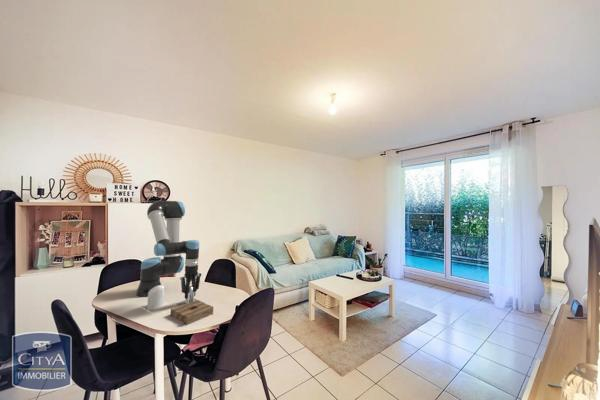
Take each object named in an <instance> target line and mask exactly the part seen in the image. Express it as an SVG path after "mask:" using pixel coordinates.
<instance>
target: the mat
mask: <svg viewBox="0 0 600 400" xmlns="http://www.w3.org/2000/svg"><path fill="white" fill-rule="evenodd" d="M195 300H198V301H200V302H203V303H205V302H204V301H201V300H199V299H197V298H194V301H195ZM185 301H186V299H185V300H182V301H179V302H177V303H175V305H177V306H181V305H184V304H187V303H185Z"/></svg>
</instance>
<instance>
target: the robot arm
mask: <svg viewBox="0 0 600 400" xmlns="http://www.w3.org/2000/svg"><path fill="white" fill-rule="evenodd" d="M185 214H186V207H185V204H184V203H183V202H182V201H179V200H156V201H154V202H152V203H151V204H150V205H149V207H148V208H147V212H146V215H147V216H146V217H147V219H148V220H150V223H151V227H152V231H153V234H154V238H155V241H156V243H155V244H154V247H153V254H154V255H155V256H154V257H150V258H146V259H144V260H143V261H142V262H141V264H140V275H139V276H140V278H139V279H140V281H139V285H138V287H137V289H136V296H138V297H148V292H149V291H150V290H151V289H152V288H154V287H156V286H159V285H161V286H162V283H161V280H160V279H161V277H162V276H167V275H169V276H170V275H175V274H179V273H181V272H182V270H183V269H184V276H180V277H179V279H180V281H181V282H180V283H181V284H180V285H181V293H182V294H184V299H185V300H186V301H185V300H184V301H185V303H189V295H190V293H188V292H189V286H193V300H192V301H194V299H195V297H196V292H197V291H198V290H199V288H200V282H201V281H200V280H201V276H202V273H200V272H198V271H199V265H198V264H199V254H200V241H199V240H198V239H189V240H182V241H180V222H181V220H182V219H183V217H184V216H185ZM165 221H166V223H165ZM182 254H185V258H184V257H183V256H182ZM161 257H162V258H161Z"/></svg>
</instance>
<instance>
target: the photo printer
mask: <svg viewBox="0 0 600 400" xmlns="http://www.w3.org/2000/svg"><path fill="white" fill-rule="evenodd" d="M164 303H165V286H164V285H162V284H161V285H159V286H156V287H154V288H152V289H151V290H150V291H149V292H148V296H147V307H146V309H147V311H153V310H155V309H158V308H159V307H161V306H162V305H164Z"/></svg>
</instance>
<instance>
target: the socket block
mask: <svg viewBox="0 0 600 400" xmlns="http://www.w3.org/2000/svg"><path fill="white" fill-rule="evenodd" d="M198 300H199V299H197V300H195V301H192V302H189V303H187V304H184V305H181V306H179V305H177V306H175V307H172V308H170V312H169V313H170V316H171V317H172V318H174V319H176V320H178V321H180V322H183V324H185V325H190V324H193V323H195V322H197V321H200V320H202V319H205V318H207V317H209V316H211V315H213V314H214V306H213V305H210V304H208V303H205V302H204V301H202V302H200V301H201V300H199V301H198ZM203 302H204V303H203Z"/></svg>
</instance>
